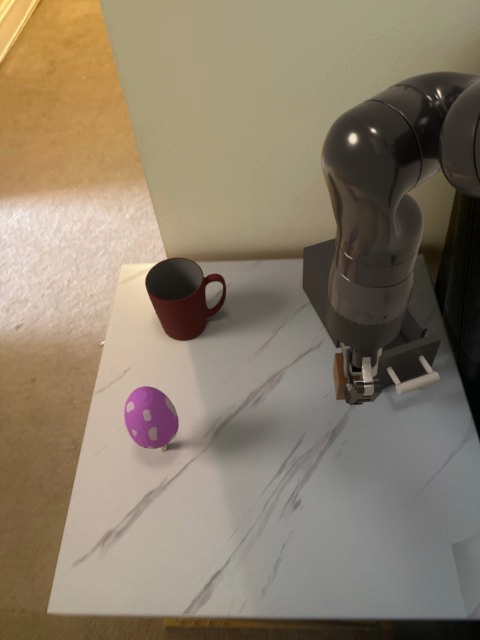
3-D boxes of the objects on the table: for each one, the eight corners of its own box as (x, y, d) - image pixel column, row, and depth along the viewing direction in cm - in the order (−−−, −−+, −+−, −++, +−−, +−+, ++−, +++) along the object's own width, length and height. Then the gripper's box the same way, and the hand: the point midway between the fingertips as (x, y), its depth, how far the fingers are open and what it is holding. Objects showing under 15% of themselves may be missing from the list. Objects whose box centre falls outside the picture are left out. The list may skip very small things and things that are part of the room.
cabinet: (402, 325, 90) (413, 286, 82) (336, 348, 88) (340, 310, 81) (363, 267, 98) (370, 227, 90) (302, 287, 96) (303, 247, 89)
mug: (227, 296, 96) (221, 251, 88) (233, 337, 91) (227, 294, 82) (157, 306, 96) (144, 261, 87) (159, 348, 91) (145, 305, 82)
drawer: (446, 392, 81) (459, 363, 75) (381, 416, 80) (388, 388, 74) (390, 308, 91) (397, 276, 85) (331, 328, 90) (334, 296, 83)
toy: (132, 463, 79) (104, 412, 67) (150, 421, 83) (127, 366, 71) (176, 475, 77) (156, 425, 66) (193, 432, 81) (176, 378, 69)
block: (366, 369, 68) (369, 351, 65) (370, 398, 65) (375, 381, 62) (332, 371, 68) (334, 352, 65) (336, 400, 66) (338, 382, 63)
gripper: (423, 351, 49) (394, 438, 62) (395, 235, 57) (374, 333, 71) (336, 355, 49) (325, 440, 63) (321, 239, 58) (315, 336, 71)
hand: (351, 383), depth 67 cm, fingers closed on block, 4 cm apart
